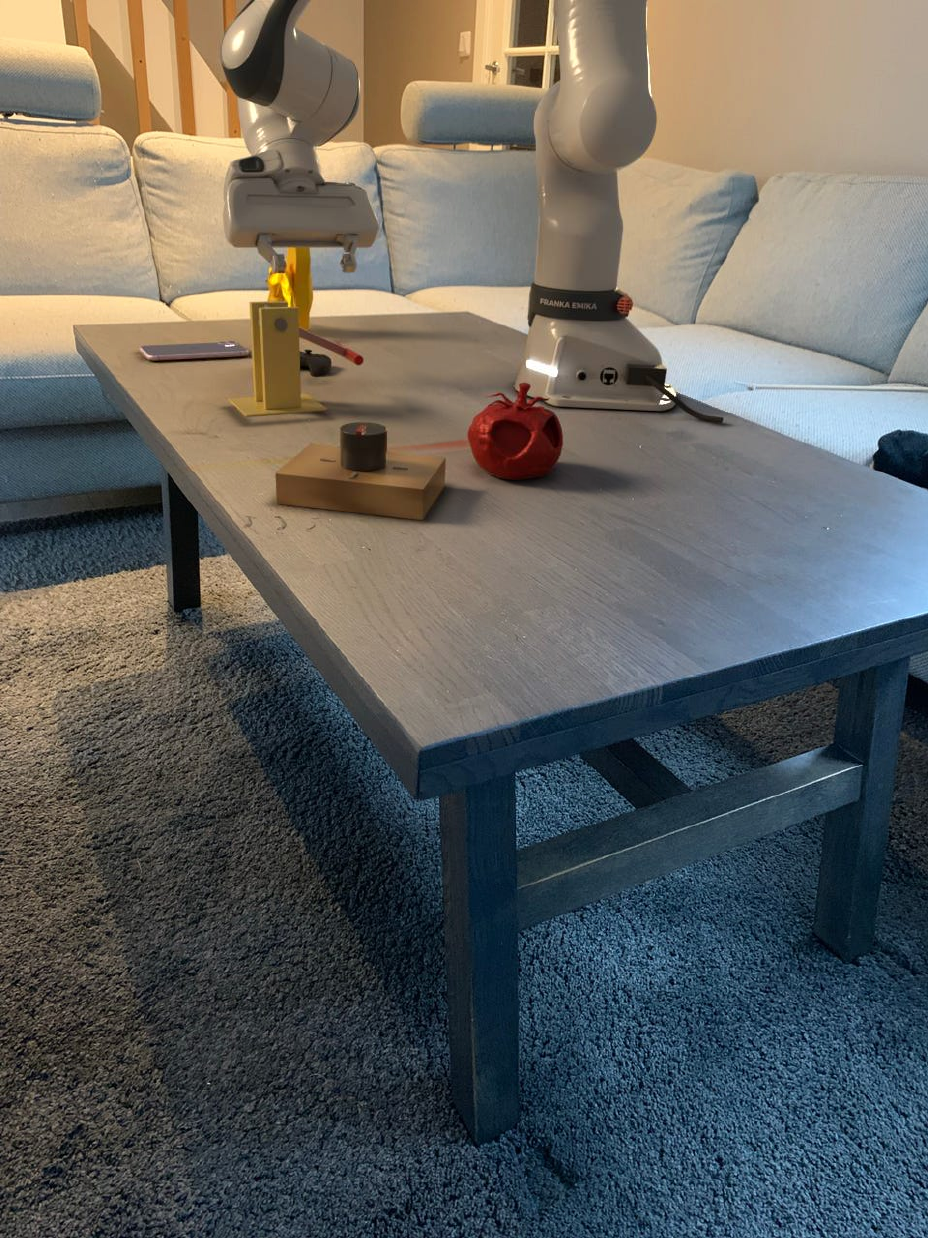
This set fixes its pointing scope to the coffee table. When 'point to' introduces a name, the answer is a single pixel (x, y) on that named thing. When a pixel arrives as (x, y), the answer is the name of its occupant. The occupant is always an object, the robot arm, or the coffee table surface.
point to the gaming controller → (315, 363)
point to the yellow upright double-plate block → (275, 363)
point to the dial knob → (363, 446)
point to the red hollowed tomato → (516, 437)
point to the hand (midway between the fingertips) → (315, 269)
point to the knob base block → (361, 483)
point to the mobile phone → (193, 351)
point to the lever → (330, 345)
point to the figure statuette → (294, 284)
